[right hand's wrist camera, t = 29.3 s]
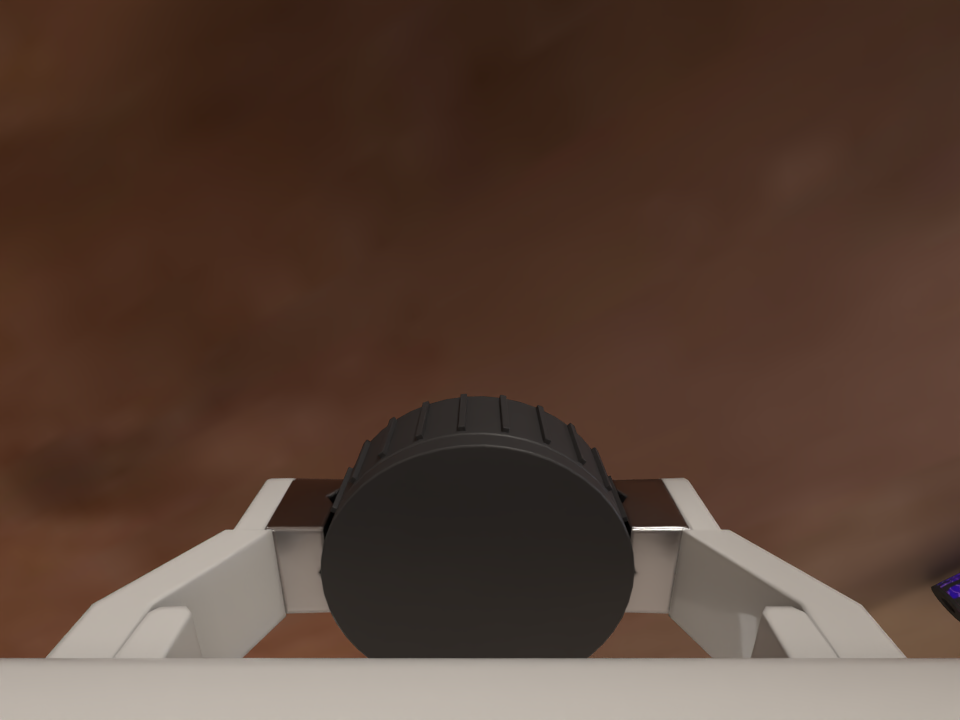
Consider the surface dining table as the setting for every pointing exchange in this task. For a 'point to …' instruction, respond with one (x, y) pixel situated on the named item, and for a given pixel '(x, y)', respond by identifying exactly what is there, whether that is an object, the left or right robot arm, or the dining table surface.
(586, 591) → the lid
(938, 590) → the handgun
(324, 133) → the dining table surface
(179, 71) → the dining table surface
